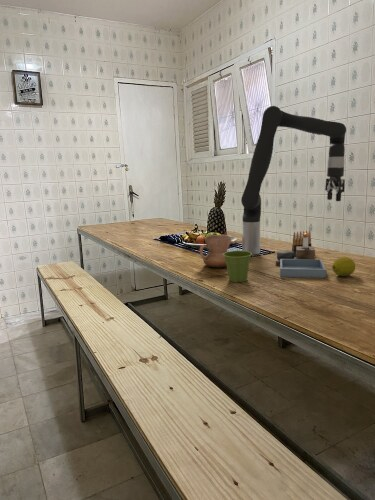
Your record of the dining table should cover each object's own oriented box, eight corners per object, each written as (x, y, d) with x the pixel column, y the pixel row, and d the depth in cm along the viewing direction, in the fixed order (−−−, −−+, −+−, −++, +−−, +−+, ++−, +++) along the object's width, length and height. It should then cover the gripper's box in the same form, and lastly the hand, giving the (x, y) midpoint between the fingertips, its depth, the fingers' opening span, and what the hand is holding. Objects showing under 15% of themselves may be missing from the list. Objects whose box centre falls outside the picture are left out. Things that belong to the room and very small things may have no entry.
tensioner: (275, 265, 179) (275, 250, 177) (275, 259, 190) (276, 245, 188) (316, 266, 174) (316, 251, 173) (313, 259, 186) (314, 245, 184)
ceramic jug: (228, 260, 191) (227, 232, 189) (241, 266, 178) (240, 236, 175) (195, 265, 186) (193, 236, 183) (205, 272, 173) (204, 241, 170)
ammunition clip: (309, 252, 202) (310, 230, 200) (311, 253, 201) (312, 230, 198) (291, 254, 200) (291, 231, 197) (293, 255, 198) (293, 232, 196)
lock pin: (302, 259, 180) (302, 234, 177) (301, 257, 182) (302, 233, 180) (308, 259, 179) (309, 234, 176) (308, 257, 182) (308, 233, 179)
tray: (280, 276, 160) (280, 268, 159) (280, 266, 177) (280, 258, 176) (325, 278, 155) (326, 269, 155) (321, 266, 172) (321, 259, 172)
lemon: (347, 272, 162) (348, 254, 161) (360, 277, 155) (361, 257, 153) (325, 275, 159) (326, 256, 158) (337, 280, 152) (338, 260, 150)
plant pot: (229, 275, 165) (228, 249, 163) (255, 277, 160) (255, 251, 158) (219, 282, 155) (218, 255, 152) (247, 285, 150) (247, 257, 147)
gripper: (321, 166, 191) (319, 199, 194) (335, 166, 177) (333, 201, 180) (335, 166, 192) (333, 199, 195) (351, 166, 178) (348, 201, 181)
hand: (333, 200), depth 188 cm, fingers open, 8 cm apart
